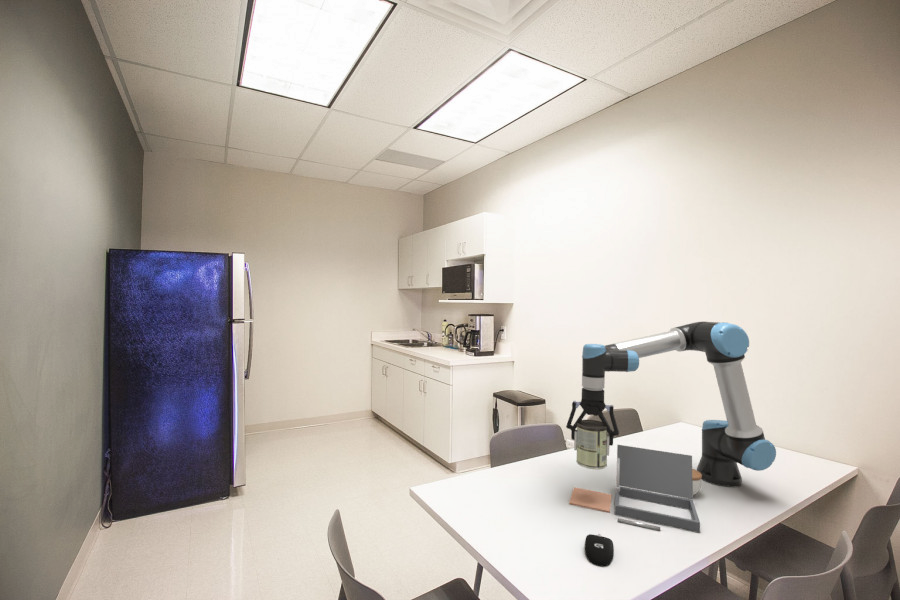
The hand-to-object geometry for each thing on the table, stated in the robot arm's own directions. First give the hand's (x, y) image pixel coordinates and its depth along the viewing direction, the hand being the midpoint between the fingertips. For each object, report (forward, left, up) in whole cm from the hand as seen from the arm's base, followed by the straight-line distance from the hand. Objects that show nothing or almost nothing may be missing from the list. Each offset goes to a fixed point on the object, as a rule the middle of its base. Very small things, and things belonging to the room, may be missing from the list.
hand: (591, 451), depth 143 cm
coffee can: (0, 0, -4) cm, 4 cm away
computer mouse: (-5, +31, -18) cm, 36 cm away
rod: (-15, +11, -17) cm, 25 cm away
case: (-20, -3, -17) cm, 26 cm away
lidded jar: (-31, -22, -17) cm, 42 cm away
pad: (0, 0, -17) cm, 17 cm away
